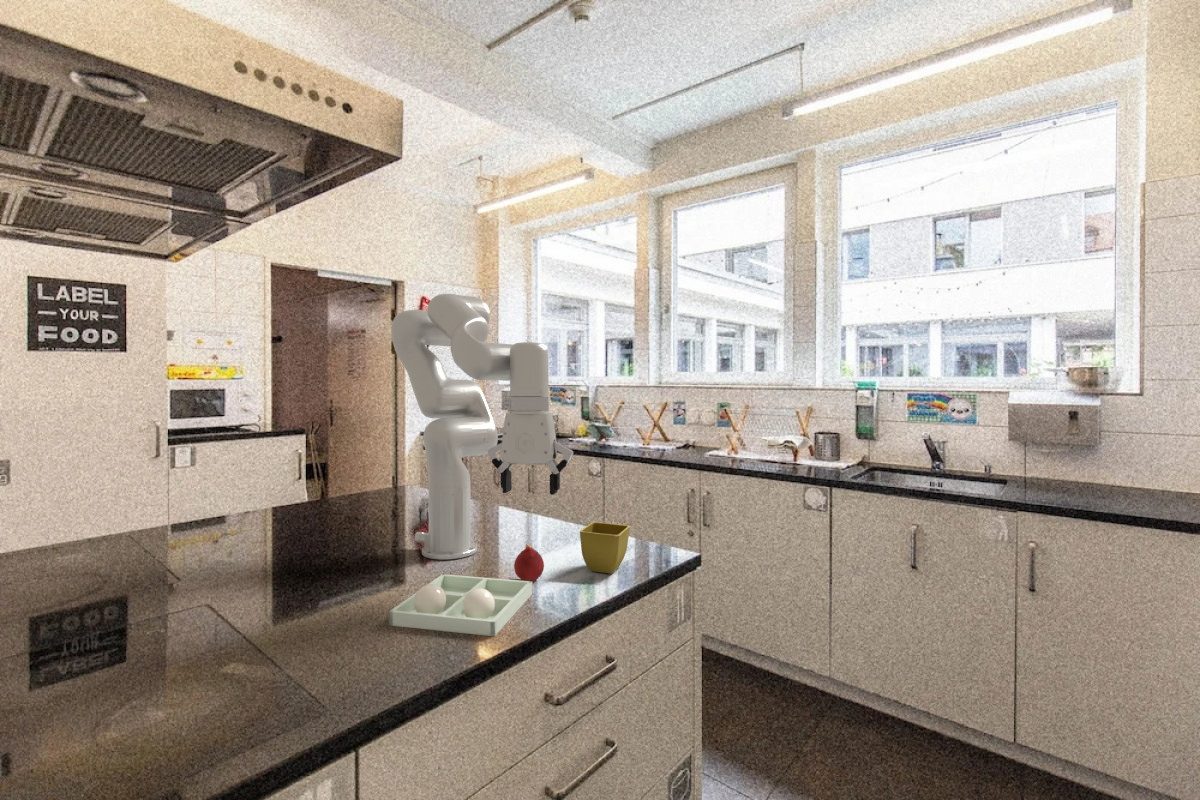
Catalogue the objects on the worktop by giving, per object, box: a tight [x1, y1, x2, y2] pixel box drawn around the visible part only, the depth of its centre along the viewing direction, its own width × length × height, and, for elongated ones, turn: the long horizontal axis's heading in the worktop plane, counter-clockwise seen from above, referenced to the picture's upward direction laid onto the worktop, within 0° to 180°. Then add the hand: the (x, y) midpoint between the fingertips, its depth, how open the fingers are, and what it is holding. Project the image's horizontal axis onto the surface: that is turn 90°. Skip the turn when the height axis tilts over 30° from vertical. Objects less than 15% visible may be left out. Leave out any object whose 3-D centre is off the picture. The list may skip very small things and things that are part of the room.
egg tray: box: [388, 573, 533, 637], centre depth 98 cm, size 18×18×3 cm
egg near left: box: [414, 583, 446, 614], centre depth 95 cm, size 5×5×5 cm
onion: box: [513, 543, 545, 583], centre depth 112 cm, size 6×6×8 cm
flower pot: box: [579, 521, 631, 575], centre depth 122 cm, size 9×9×9 cm
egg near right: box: [463, 588, 495, 619], centre depth 93 cm, size 5×5×5 cm
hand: (530, 492), depth 112 cm, fingers open, 9 cm apart
